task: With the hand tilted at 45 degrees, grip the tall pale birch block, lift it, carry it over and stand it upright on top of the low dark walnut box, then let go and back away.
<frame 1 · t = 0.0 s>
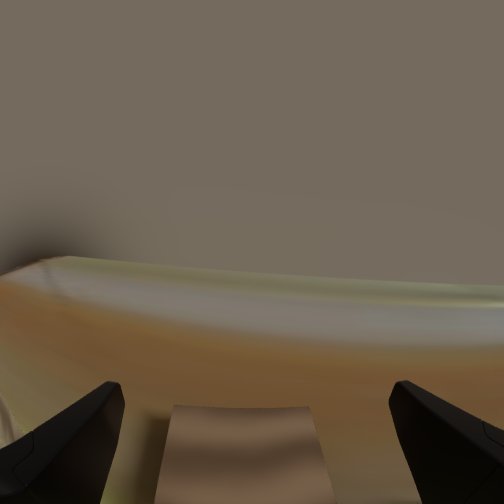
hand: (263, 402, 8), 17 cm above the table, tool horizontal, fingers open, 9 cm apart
birch block: (21, 482, 13), on the table
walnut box: (242, 484, 19), on the table
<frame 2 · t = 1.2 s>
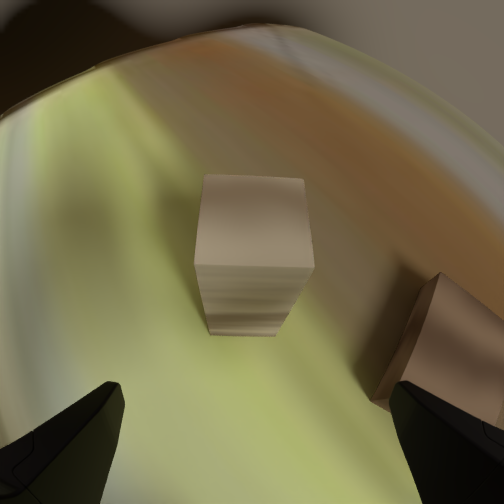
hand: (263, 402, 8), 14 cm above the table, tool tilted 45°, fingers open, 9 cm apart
birch block: (243, 305, 24), on the table
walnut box: (443, 371, 22), on the table
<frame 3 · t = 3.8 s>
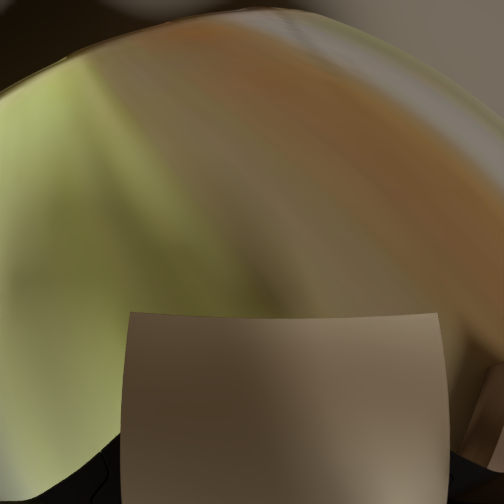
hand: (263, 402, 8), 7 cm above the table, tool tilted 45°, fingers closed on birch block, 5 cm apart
birch block: (249, 429, 14), on the table, touching gripper
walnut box: (498, 465, 12), on the table
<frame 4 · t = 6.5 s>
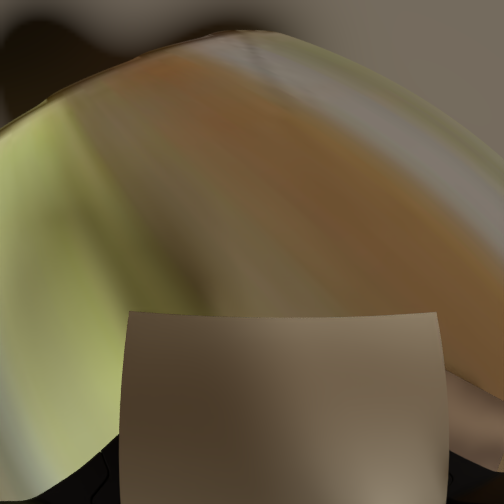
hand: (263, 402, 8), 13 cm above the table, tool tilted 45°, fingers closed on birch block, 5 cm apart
birch block: (249, 429, 14), point 7 cm above the table, touching gripper
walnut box: (433, 455, 18), on the table
when the fingers open (12 cm above the table, at t = 9.1 s): birch block drops 2 cm, point 4 cm above the table.
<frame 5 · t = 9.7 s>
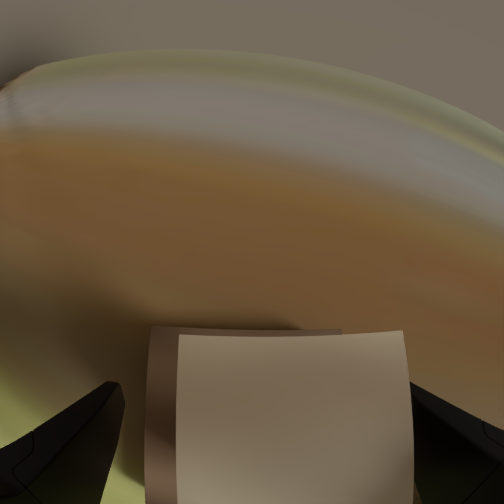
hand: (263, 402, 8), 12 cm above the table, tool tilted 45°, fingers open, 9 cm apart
birch block: (250, 427, 15), point 4 cm above the table
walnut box: (244, 423, 19), on the table
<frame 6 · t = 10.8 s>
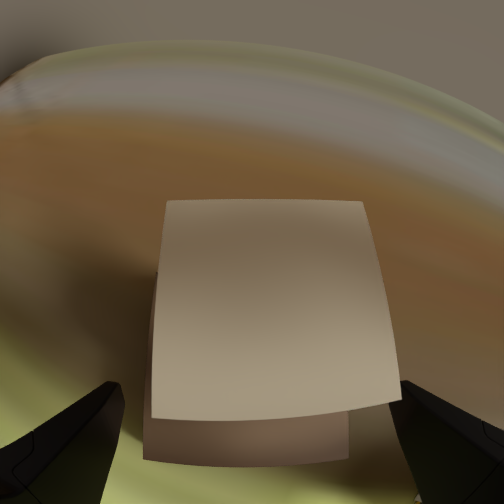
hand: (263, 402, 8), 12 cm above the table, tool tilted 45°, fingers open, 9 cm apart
birch block: (250, 368, 17), point 4 cm above the table, touching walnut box
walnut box: (244, 375, 20), on the table, touching birch block
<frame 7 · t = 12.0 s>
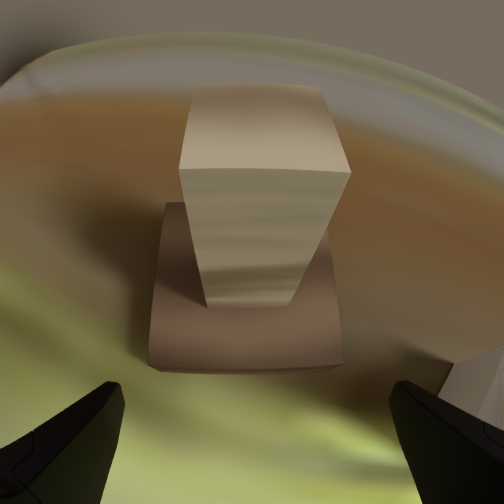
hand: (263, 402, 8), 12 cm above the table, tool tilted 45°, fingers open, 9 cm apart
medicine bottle: (457, 416, 18), on the table
birch block: (246, 271, 20), point 4 cm above the table, touching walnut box
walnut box: (243, 297, 23), on the table, touching birch block
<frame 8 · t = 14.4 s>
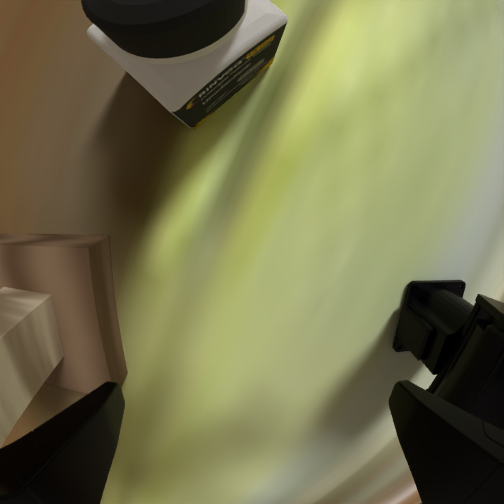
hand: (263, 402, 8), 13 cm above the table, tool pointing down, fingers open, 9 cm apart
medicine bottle: (198, 62, 17), on the table
birch block: (32, 321, 18), point 4 cm above the table, touching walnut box
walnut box: (57, 302, 22), on the table, touching birch block
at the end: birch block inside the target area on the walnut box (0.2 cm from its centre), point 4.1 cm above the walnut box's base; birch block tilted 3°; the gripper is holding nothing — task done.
